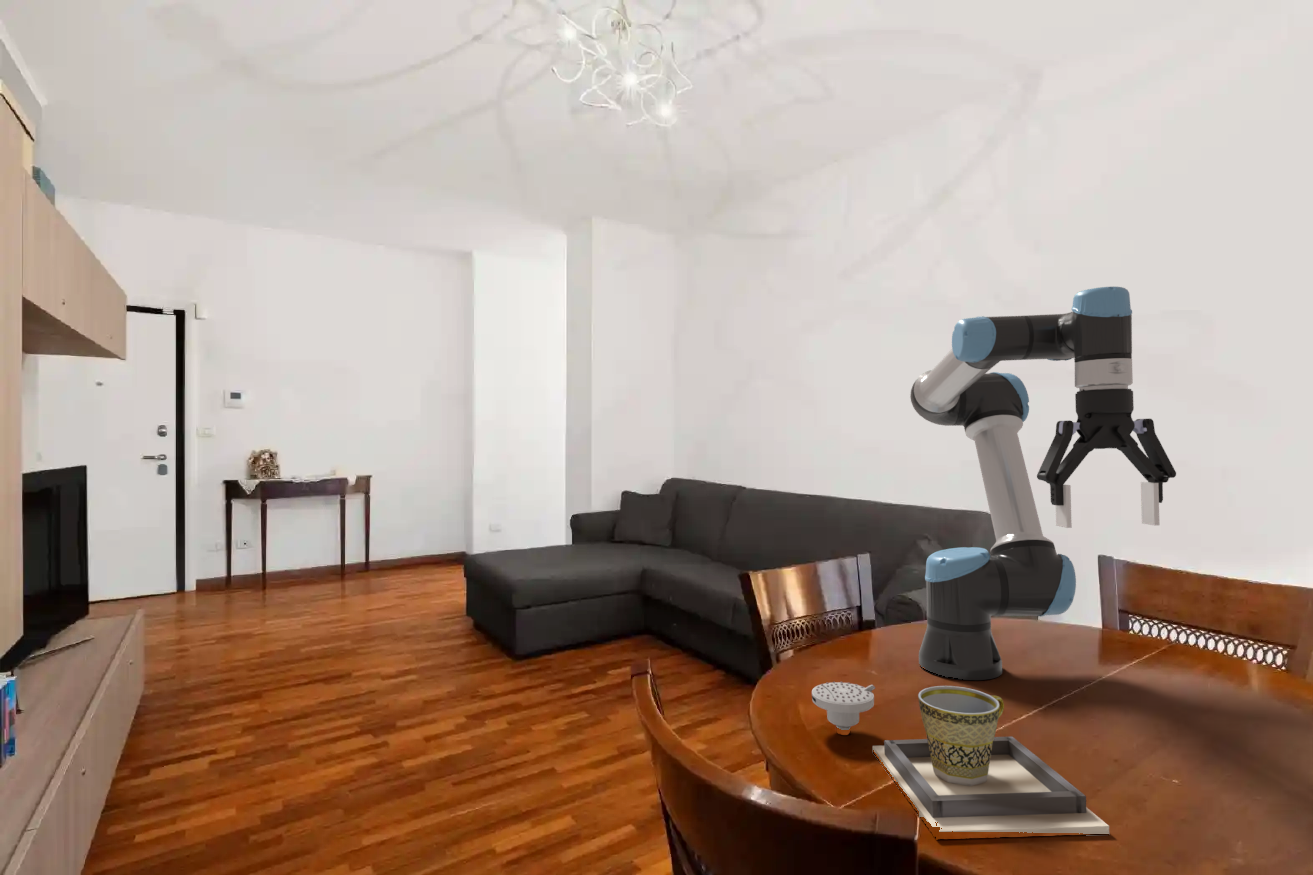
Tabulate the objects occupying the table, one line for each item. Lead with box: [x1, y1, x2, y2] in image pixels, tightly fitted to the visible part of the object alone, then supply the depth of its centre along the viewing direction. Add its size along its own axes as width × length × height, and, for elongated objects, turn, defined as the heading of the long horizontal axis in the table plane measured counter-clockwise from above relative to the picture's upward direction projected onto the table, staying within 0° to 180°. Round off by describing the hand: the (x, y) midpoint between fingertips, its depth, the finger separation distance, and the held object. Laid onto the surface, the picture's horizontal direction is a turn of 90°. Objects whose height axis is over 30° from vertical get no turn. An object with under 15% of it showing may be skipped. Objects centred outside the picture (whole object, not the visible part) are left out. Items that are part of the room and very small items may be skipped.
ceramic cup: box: [917, 685, 1005, 786], centre depth 92 cm, size 13×10×10 cm
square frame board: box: [872, 736, 1110, 835], centre depth 89 cm, size 22×20×3 cm
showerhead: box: [811, 681, 876, 730], centre depth 107 cm, size 9×7×10 cm
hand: (1107, 525), depth 106 cm, fingers open, 13 cm apart
